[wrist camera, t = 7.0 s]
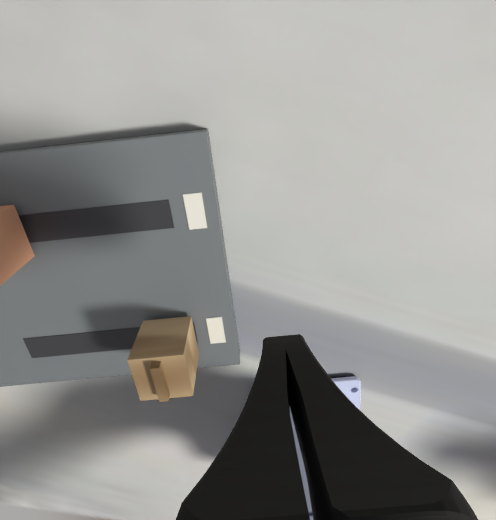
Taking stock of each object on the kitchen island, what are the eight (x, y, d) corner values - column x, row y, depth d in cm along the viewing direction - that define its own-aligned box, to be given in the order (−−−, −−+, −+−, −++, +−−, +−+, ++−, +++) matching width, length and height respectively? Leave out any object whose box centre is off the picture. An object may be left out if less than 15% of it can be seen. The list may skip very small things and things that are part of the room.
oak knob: (199, 354, 23) (191, 403, 20) (153, 358, 24) (138, 407, 20) (191, 316, 22) (182, 361, 19) (142, 320, 22) (124, 366, 19)
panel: (239, 352, 25) (239, 370, 24) (-23, 377, 26) (-41, 396, 24) (207, 128, 19) (204, 132, 17) (-144, 167, 19) (-180, 175, 18)
